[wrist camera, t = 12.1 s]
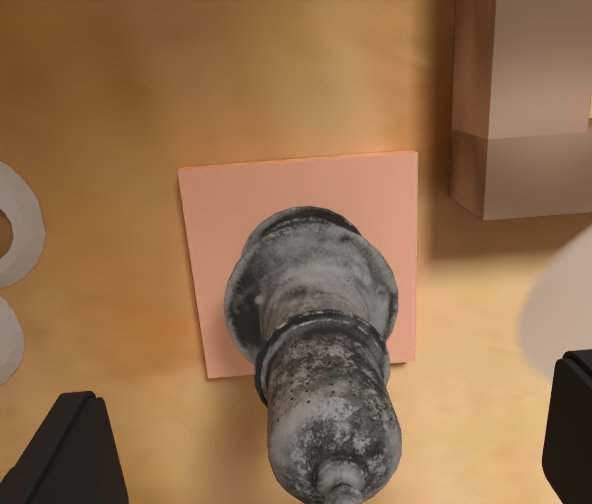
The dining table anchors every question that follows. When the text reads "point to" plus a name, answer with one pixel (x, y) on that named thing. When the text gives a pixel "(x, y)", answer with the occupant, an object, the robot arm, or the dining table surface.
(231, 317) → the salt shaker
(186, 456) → the dining table surface
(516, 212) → the brown square wooden frame
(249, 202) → the terracotta tile
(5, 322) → the paint palette
